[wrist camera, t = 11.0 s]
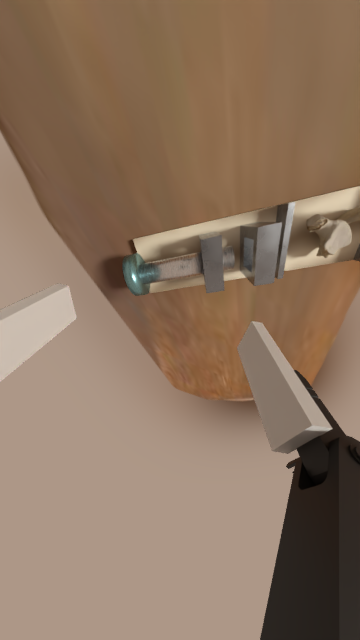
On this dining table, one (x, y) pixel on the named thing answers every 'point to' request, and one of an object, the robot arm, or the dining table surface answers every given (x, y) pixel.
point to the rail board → (300, 241)
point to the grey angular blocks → (252, 251)
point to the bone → (333, 231)
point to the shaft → (166, 269)
